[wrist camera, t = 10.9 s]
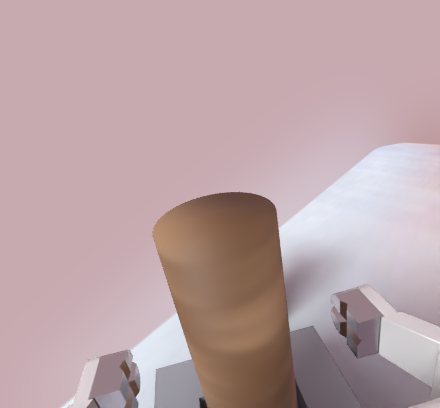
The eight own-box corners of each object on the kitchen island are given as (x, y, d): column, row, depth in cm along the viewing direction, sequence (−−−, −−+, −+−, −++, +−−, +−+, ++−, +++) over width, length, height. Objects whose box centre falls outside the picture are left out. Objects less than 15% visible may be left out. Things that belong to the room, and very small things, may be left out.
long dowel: (290, 438, 16) (255, 184, 10) (321, 526, 13) (298, 231, 7) (230, 457, 16) (155, 207, 10) (246, 551, 13) (148, 268, 6)
